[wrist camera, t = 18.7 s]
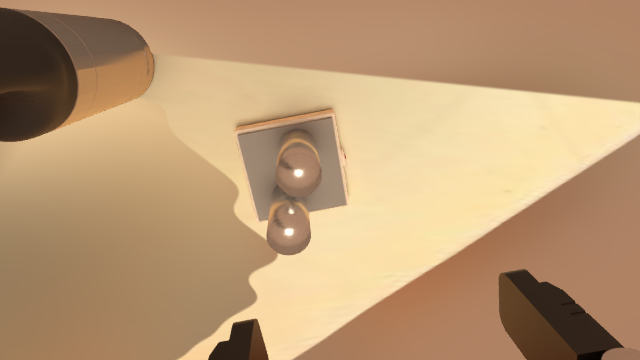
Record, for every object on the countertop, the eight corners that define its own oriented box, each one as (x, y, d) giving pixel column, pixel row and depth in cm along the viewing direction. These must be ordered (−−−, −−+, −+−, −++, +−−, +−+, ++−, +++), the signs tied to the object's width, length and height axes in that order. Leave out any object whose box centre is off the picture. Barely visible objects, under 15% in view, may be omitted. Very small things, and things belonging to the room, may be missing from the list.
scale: (258, 213, 53) (256, 224, 50) (236, 127, 49) (232, 133, 46) (350, 196, 53) (354, 206, 50) (336, 108, 49) (339, 113, 46)
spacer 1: (283, 168, 47) (280, 200, 38) (275, 132, 46) (270, 157, 37) (319, 161, 47) (325, 191, 38) (312, 126, 46) (317, 148, 37)
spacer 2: (275, 217, 50) (271, 258, 40) (268, 184, 48) (262, 220, 39) (310, 210, 50) (314, 250, 40) (303, 178, 48) (306, 212, 39)
